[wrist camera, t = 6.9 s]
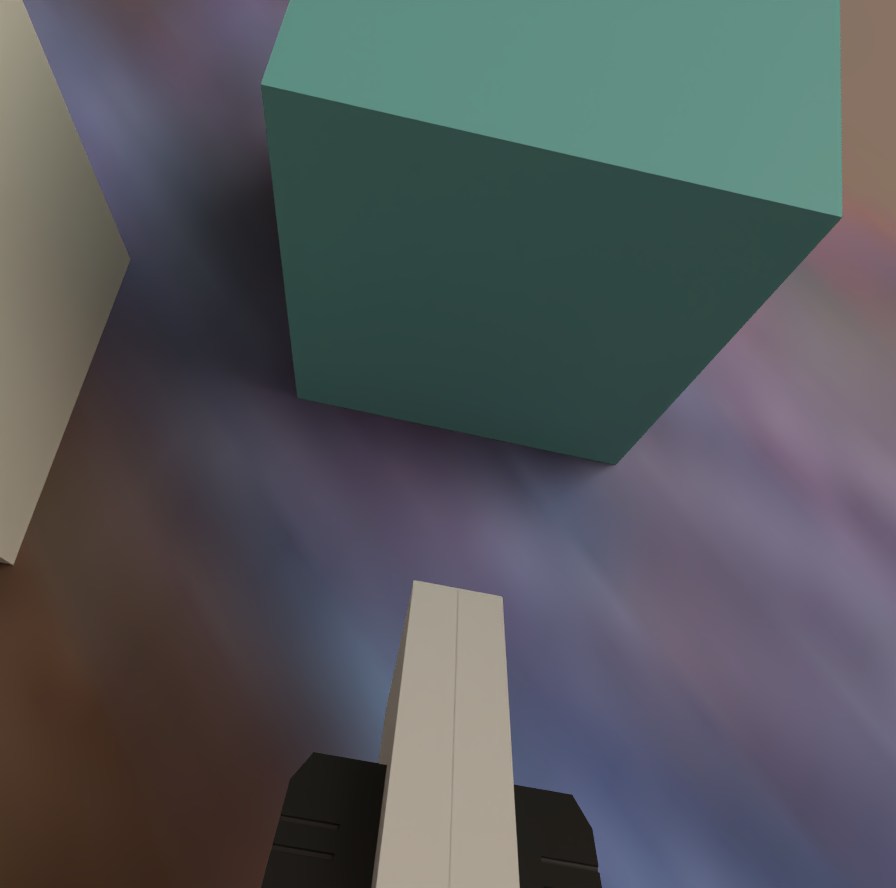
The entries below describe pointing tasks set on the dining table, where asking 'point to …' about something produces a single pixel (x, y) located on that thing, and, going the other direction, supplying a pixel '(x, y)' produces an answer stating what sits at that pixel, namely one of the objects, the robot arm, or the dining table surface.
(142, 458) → the dining table surface
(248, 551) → the dining table surface
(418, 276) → the teal block
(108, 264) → the cream block
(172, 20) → the dining table surface
